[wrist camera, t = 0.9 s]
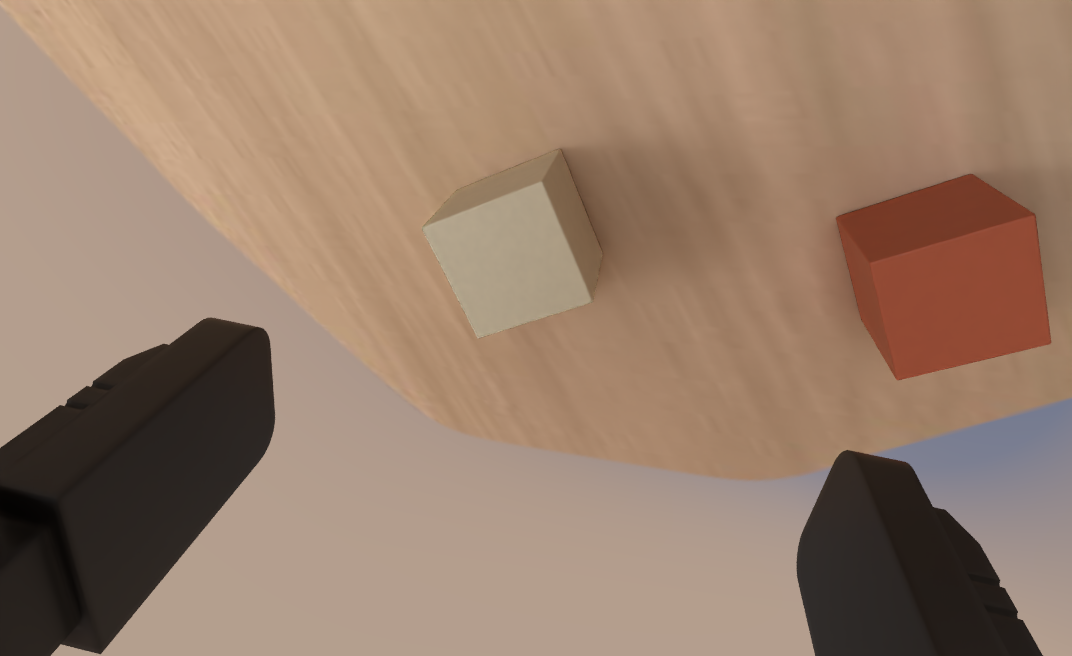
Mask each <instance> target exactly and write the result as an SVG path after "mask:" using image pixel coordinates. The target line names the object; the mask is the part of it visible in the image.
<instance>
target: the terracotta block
mask: <svg viewBox="0 0 1072 656" xmlns="http://www.w3.org/2000/svg"><path fill="white" fill-rule="evenodd" d="M836 220H837V224H838V228H839V232H840V236H841V240H842V244H843V248H844V252H845V256H846V260H847V264H848V268H849V272H850V276H851V280H852V284H853V288H854V292H855V296H856V300H857V304H858V308H859V312H860V316H861V320H862V322H863V323H864V325H865V327H866V328H867V330H868V332H869V334H870V335H871V337H872V339H873V340H874V342H875V344H876V345H877V347H878V349H879V351H880V352H881V354H882V356H883V357H884V359H885V361H886V363H887V364H888V366H889V368H890V369H891V371H892V373H893V375H894V376H895V378H896V379H897V380H902V379H906V378H910V377H914V376H918V375H922V374H927V373H931V372H935V371H939V370H943V369H948V368H952V367H956V366H960V365H964V364H969V363H973V362H977V361H981V360H985V359H989V358H994V357H998V356H1002V355H1006V354H1010V353H1015V352H1019V351H1023V350H1027V349H1031V348H1035V347H1040V346H1044V345H1048V344H1051V336H1050V328H1049V320H1048V312H1047V304H1046V296H1045V288H1044V280H1043V272H1042V264H1041V256H1040V248H1039V240H1038V232H1037V224H1036V216H1035V214H1034V213H1032V212H1031V211H1029V210H1027V209H1026V208H1024V207H1023V206H1021V205H1020V204H1018V203H1017V202H1015V201H1013V200H1012V199H1010V198H1009V197H1007V196H1006V195H1004V194H1003V193H1001V192H999V191H998V190H996V189H995V188H993V187H992V186H990V185H989V184H987V183H985V182H984V181H982V180H981V179H979V178H978V177H976V176H974V175H973V174H969V175H966V176H963V177H960V178H957V179H953V180H950V181H947V182H944V183H941V184H938V185H935V186H932V187H928V188H925V189H922V190H919V191H916V192H913V193H910V194H907V195H903V196H900V197H897V198H894V199H891V200H888V201H885V202H882V203H878V204H875V205H872V206H869V207H866V208H863V209H860V210H857V211H853V212H850V213H847V214H844V215H841V216H838V217H837V218H836Z"/></svg>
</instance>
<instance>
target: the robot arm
mask: <svg viewBox="0 0 1072 656" xmlns="http://www.w3.org/2000/svg"><path fill="white" fill-rule="evenodd" d="M274 424H275V409H274V394H273V379H272V363H271V348H270V340H269V336H268V334H267V332H266V331H265V330H264V329H262V328H259V327H255V326H250V325H245V324H240V323H236V322H231V321H226V320H221V319H216V318H206V319H203V320H202V321H200V322H199V323H198V324H196V325H195V326H194V327H192V328H191V329H190V330H188V331H187V332H186V333H184V334H183V335H182V336H180V337H179V338H178V339H176V340H175V341H174V342H172V343H171V344H170V345H167V344H162V345H160V346H157V347H154V348H152V349H149V350H147V351H144V352H141V353H139V354H136V355H134V356H131V357H129V358H126V359H124V360H122V361H121V362H120V363H118V364H117V365H115V366H114V367H113V368H111V369H110V370H108V371H107V372H106V373H104V374H103V375H101V376H100V377H99V378H97V379H96V380H94V381H93V385H92V386H91V387H89V386H86V387H85V388H83V389H82V390H81V391H79V392H78V393H76V394H75V395H74V396H72V397H71V398H69V399H68V400H67V403H66V405H65V406H61V405H60V406H58V407H57V408H56V409H54V410H53V411H51V412H50V413H49V414H47V415H46V416H44V417H43V418H41V419H40V420H39V421H37V422H36V423H35V424H33V425H32V426H30V427H29V428H28V429H26V430H25V431H23V432H22V433H21V434H19V435H18V436H16V437H15V438H14V439H12V440H11V441H9V442H8V443H7V444H5V445H4V446H2V447H1V448H0V656H51V654H52V653H53V652H54V651H55V650H56V649H57V648H58V647H59V645H60V644H62V645H66V646H70V647H74V648H78V649H82V650H86V651H90V652H94V653H98V654H101V653H102V652H103V651H104V649H105V648H106V647H107V646H108V645H109V643H110V642H111V641H112V640H113V639H114V637H115V636H116V635H117V634H118V633H119V631H120V630H121V629H122V628H123V626H124V625H125V624H126V623H127V621H128V620H129V619H130V618H131V617H132V615H133V614H134V613H135V612H136V611H137V609H138V608H139V607H140V606H141V605H142V603H143V602H144V601H145V600H146V599H147V597H148V596H149V595H150V594H151V592H152V591H153V590H154V589H155V587H156V586H157V585H158V584H159V583H160V581H161V580H162V579H163V578H164V577H165V575H166V574H167V573H168V572H169V570H170V569H171V568H172V567H173V566H174V564H175V563H176V562H177V561H178V559H179V558H180V557H181V556H182V555H183V554H184V552H185V551H186V550H187V549H188V547H189V546H190V545H191V544H192V542H193V541H194V540H195V539H196V538H197V536H198V535H199V534H200V533H201V532H202V530H203V529H204V528H205V527H206V526H207V524H208V523H209V522H210V521H211V519H212V518H213V517H214V516H215V515H216V513H217V512H218V511H219V510H220V509H221V507H222V506H223V505H224V504H225V502H226V501H227V500H228V499H229V498H230V496H231V495H232V494H233V493H234V491H235V490H236V489H237V488H238V486H239V485H240V484H241V483H242V482H243V480H244V479H245V478H246V477H247V476H248V474H249V473H250V472H251V470H252V469H253V468H254V467H255V466H256V465H257V463H258V462H259V461H260V460H261V458H262V457H263V455H264V454H265V452H266V450H267V448H268V446H269V443H270V441H271V437H272V434H273V430H274ZM797 578H798V583H799V587H800V592H801V596H802V600H803V605H804V608H805V613H806V618H807V622H808V626H809V631H810V635H811V639H812V643H813V648H814V652H815V656H1043V655H1042V653H1041V652H1040V650H1039V648H1038V647H1037V645H1036V643H1035V641H1034V640H1033V637H1032V636H1031V634H1030V632H1029V630H1028V629H1027V627H1026V625H1025V623H1024V622H1023V620H1020V619H1018V618H1017V613H1018V611H1017V609H1016V607H1015V606H1014V604H1013V602H1012V600H1011V599H1010V597H1009V595H1008V593H1007V592H1006V590H1005V588H1002V587H1000V586H999V583H1000V580H999V577H998V576H997V574H996V572H995V570H994V569H993V567H992V565H991V563H990V562H989V560H988V558H987V556H986V554H985V553H984V551H983V550H982V547H981V546H980V544H979V543H978V542H977V541H976V540H975V539H974V538H973V537H972V536H971V535H970V534H969V533H968V532H967V531H966V530H965V529H964V528H963V527H962V526H961V525H960V524H959V523H958V522H957V521H956V520H955V519H954V518H953V517H952V516H951V515H950V514H949V513H948V512H947V511H946V510H944V509H938V508H934V507H933V506H932V504H931V502H930V500H929V499H928V497H927V495H926V493H925V491H924V489H923V487H922V485H921V483H920V482H919V479H918V477H917V475H916V474H915V471H914V470H913V468H912V467H911V466H910V465H909V464H908V463H906V462H902V461H898V460H893V459H889V458H883V457H879V456H874V455H869V454H864V453H859V452H855V451H850V450H846V451H843V452H842V453H841V454H840V455H839V456H838V457H837V458H836V460H835V462H834V464H833V466H832V468H831V470H830V473H829V475H828V477H827V479H826V481H825V484H824V486H823V488H822V490H821V492H820V495H819V497H818V499H817V502H816V504H815V506H814V508H813V510H812V512H811V514H810V517H809V519H808V521H807V523H806V525H805V527H804V530H803V532H802V535H801V538H800V542H799V546H798V553H797Z"/></svg>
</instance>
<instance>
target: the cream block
mask: <svg viewBox="0 0 1072 656" xmlns="http://www.w3.org/2000/svg"><path fill="white" fill-rule="evenodd" d="M422 230H423V232H424V234H425V236H426V238H427V240H428V242H429V244H430V246H431V248H432V250H433V252H434V254H435V256H436V258H437V260H438V262H439V264H440V266H441V267H442V269H443V271H444V273H445V275H446V277H447V279H448V281H449V283H450V285H451V287H452V289H453V291H454V293H455V295H456V297H457V299H458V301H459V303H460V305H461V307H462V309H463V311H464V313H465V314H466V316H467V318H468V320H469V322H470V324H471V326H472V328H473V330H474V332H475V334H476V336H477V338H482V337H485V336H488V335H491V334H494V333H497V332H501V331H504V330H507V329H510V328H513V327H516V326H519V325H523V324H526V323H529V322H532V321H535V320H538V319H542V318H545V317H548V316H551V315H554V314H557V313H561V312H564V311H567V310H570V309H573V308H576V307H580V306H583V305H586V304H589V303H592V302H593V300H594V295H595V290H596V285H597V280H598V275H599V270H600V265H601V260H602V255H603V253H602V250H601V248H600V246H599V243H598V241H597V238H596V236H595V233H594V231H593V228H592V226H591V223H590V221H589V218H588V216H587V213H586V211H585V208H584V206H583V203H582V201H581V198H580V196H579V193H578V191H577V189H576V186H575V184H574V181H573V179H572V176H571V174H570V171H569V169H568V166H567V164H566V161H565V159H564V156H563V154H562V151H561V150H560V149H557V150H555V151H552V152H550V153H547V154H545V155H542V156H540V157H537V158H535V159H532V160H530V161H527V162H525V163H522V164H520V165H517V166H515V167H512V168H510V169H507V170H505V171H502V172H500V173H497V174H495V175H492V176H490V177H487V178H485V179H482V180H480V181H478V182H475V183H473V184H470V185H468V186H465V187H463V188H460V189H458V190H456V191H455V192H454V193H453V195H452V196H451V197H450V198H449V199H448V200H447V201H446V202H445V203H444V204H443V205H442V206H441V207H440V208H439V210H438V211H437V212H436V213H435V214H434V215H433V216H432V217H431V218H430V219H429V220H428V221H427V222H426V223H425V225H424V226H423V227H422Z"/></svg>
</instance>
